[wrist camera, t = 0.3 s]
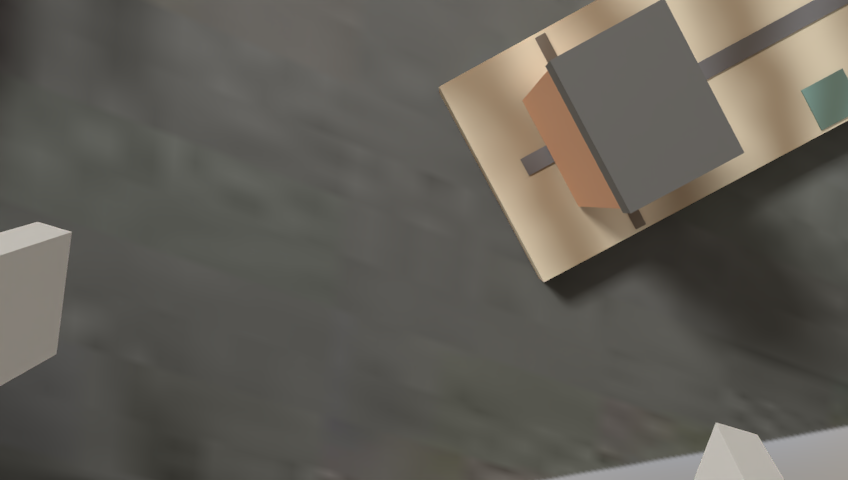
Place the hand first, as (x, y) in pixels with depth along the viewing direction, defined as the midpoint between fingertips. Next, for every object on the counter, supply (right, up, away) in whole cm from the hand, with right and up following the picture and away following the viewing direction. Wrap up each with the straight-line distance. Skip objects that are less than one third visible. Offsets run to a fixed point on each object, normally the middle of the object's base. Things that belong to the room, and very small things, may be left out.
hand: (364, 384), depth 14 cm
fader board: (+18, +13, +26) cm, 35 cm away
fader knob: (+10, +9, +24) cm, 28 cm away
